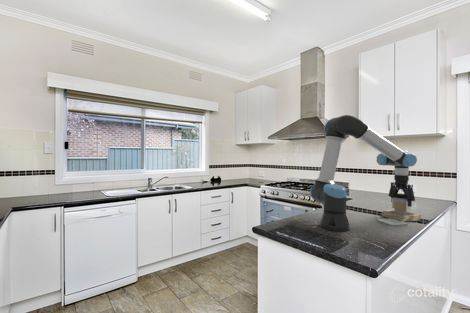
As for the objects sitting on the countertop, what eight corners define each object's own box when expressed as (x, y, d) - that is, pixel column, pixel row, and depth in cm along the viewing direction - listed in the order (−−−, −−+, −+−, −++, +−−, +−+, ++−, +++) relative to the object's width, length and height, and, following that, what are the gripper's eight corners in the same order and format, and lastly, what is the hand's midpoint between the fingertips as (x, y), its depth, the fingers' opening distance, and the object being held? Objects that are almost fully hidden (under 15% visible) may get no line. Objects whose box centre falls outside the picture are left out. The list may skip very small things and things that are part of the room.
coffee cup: (404, 215, 156) (404, 193, 156) (413, 219, 147) (413, 195, 146) (388, 215, 157) (389, 192, 157) (397, 219, 147) (397, 195, 147)
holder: (401, 221, 143) (401, 216, 143) (382, 215, 157) (382, 210, 157) (420, 220, 146) (420, 214, 146) (400, 214, 160) (400, 209, 160)
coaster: (392, 225, 136) (392, 224, 136) (376, 220, 146) (376, 219, 146) (407, 224, 138) (407, 223, 138) (391, 219, 149) (391, 218, 149)
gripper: (423, 176, 141) (422, 213, 142) (391, 173, 163) (391, 205, 163) (412, 176, 140) (412, 214, 140) (382, 173, 162) (381, 206, 162)
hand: (400, 209), depth 152 cm, fingers closed on coffee cup, 9 cm apart
